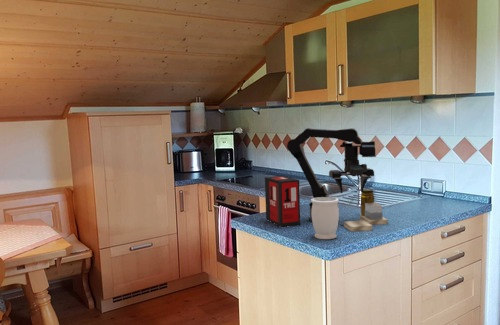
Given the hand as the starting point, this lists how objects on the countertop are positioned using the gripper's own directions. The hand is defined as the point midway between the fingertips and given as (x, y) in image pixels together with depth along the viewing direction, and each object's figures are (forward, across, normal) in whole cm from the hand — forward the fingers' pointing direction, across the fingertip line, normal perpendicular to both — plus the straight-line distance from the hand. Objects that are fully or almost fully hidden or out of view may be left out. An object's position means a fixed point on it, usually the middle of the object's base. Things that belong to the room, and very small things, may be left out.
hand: (351, 192), depth 194 cm
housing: (+11, +8, -4) cm, 14 cm away
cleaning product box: (+13, -30, +6) cm, 33 cm away
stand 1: (+13, -2, -12) cm, 17 cm away
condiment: (+13, +12, +10) cm, 21 cm away
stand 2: (+13, +8, -4) cm, 16 cm away
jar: (+13, -18, -21) cm, 31 cm away
